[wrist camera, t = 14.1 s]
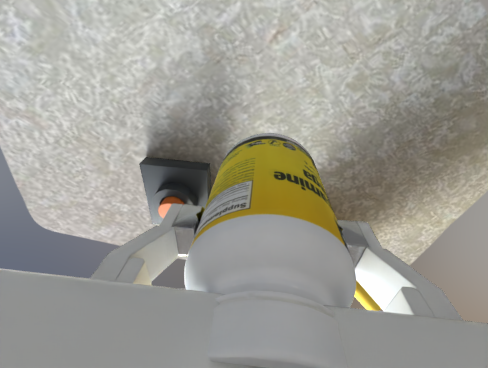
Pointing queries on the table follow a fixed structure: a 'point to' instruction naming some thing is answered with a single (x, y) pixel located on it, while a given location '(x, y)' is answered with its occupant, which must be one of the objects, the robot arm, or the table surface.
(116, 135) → the table surface
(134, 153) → the table surface
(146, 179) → the push button box
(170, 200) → the orange push button
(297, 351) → the pill bottle
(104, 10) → the table surface
